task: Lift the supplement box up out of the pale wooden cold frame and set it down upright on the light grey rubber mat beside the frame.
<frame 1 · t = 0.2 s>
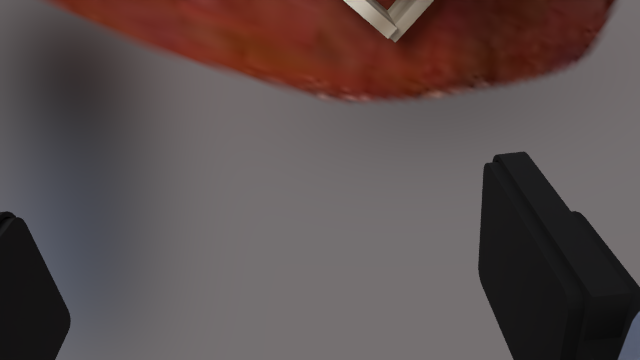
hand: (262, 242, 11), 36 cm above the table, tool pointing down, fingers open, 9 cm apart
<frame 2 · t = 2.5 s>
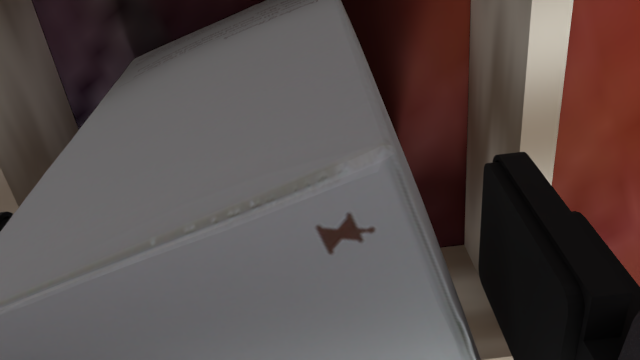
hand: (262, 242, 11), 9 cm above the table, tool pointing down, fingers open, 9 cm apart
supplement box: (273, 108, 20), resting in cold frame
cold frame: (273, 110, 19), on the table
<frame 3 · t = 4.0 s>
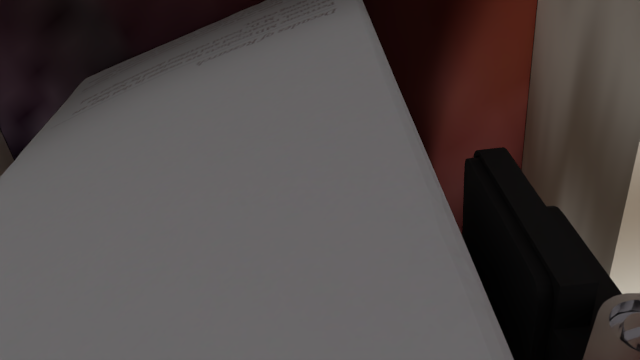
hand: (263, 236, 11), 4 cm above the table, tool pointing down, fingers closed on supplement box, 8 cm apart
supplement box: (271, 141, 15), resting in cold frame, touching gripper
cold frame: (270, 144, 15), on the table
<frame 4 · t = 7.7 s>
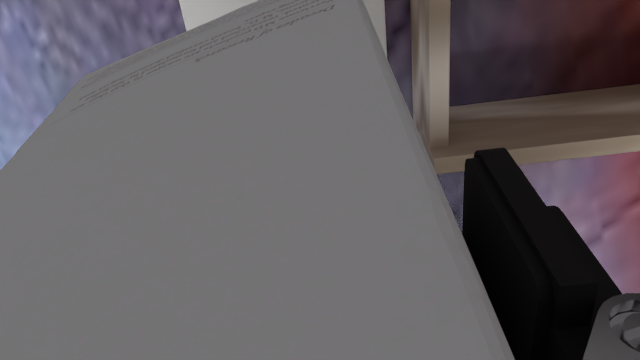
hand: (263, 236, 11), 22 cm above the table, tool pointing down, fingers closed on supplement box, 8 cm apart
supplement box: (270, 138, 15), point 17 cm above the table, touching gripper
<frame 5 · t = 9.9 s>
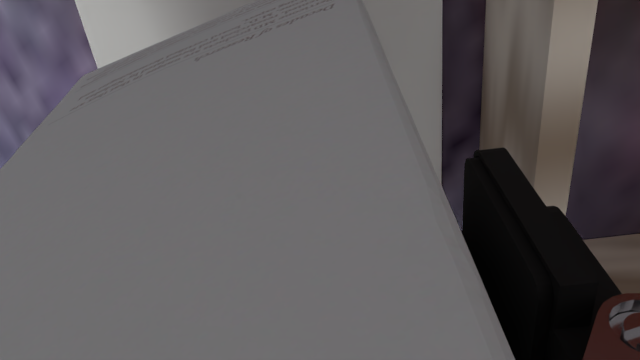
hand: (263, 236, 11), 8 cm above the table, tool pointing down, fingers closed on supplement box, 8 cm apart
supplement box: (270, 138, 15), point 4 cm above the table, touching gripper
mat: (277, 91, 18), on the table
when the fingers open (6 cm above the table, at t = 11.6 s): supplement box drops 1 cm, resting on mat.
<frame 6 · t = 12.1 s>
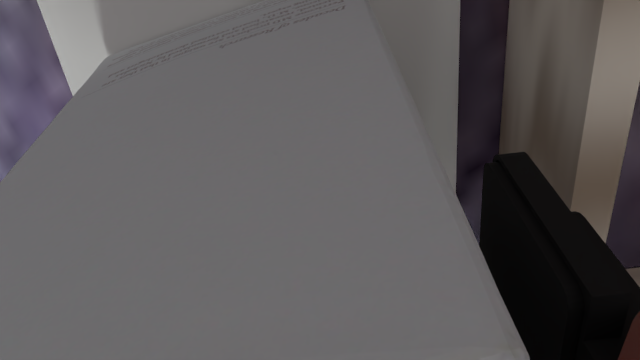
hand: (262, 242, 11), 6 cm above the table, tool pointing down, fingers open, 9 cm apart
supplement box: (273, 124, 16), resting on mat
mat: (273, 113, 17), on the table
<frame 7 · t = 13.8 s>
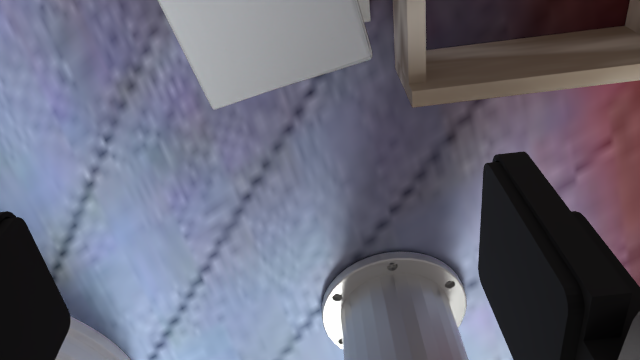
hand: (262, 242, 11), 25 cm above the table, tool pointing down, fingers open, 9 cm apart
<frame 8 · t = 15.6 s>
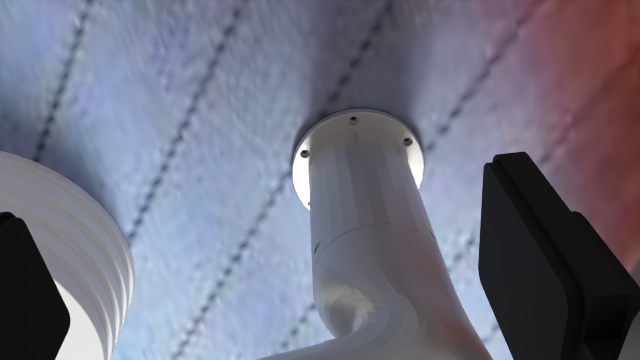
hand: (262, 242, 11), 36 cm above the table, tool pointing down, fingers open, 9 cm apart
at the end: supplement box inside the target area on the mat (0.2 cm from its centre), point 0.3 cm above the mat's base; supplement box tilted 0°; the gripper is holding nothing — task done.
